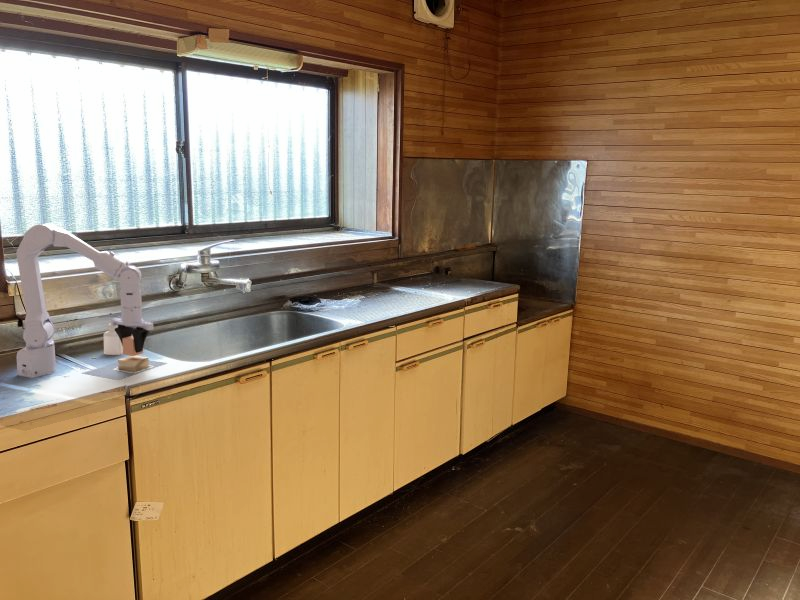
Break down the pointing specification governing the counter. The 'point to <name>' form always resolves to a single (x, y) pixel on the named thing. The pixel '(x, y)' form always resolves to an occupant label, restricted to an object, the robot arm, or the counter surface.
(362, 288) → the counter surface
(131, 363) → the base block
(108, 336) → the eye dropper bottle
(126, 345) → the top block
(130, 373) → the board
